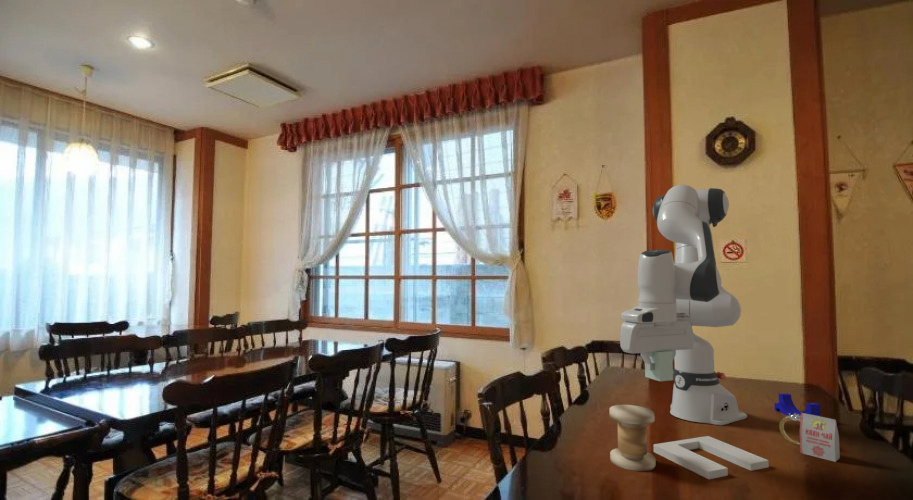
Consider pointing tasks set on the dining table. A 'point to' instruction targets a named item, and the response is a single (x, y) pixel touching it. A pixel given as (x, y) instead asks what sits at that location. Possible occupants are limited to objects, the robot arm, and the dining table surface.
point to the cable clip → (788, 406)
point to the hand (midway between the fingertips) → (658, 369)
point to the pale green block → (661, 366)
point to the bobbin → (632, 437)
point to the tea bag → (819, 437)
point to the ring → (792, 417)
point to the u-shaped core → (702, 465)
